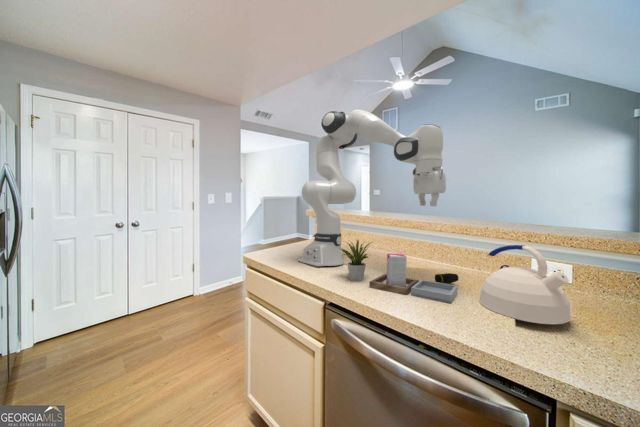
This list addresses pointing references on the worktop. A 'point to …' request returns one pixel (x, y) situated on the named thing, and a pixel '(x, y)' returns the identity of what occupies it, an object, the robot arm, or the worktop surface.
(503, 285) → the kettle
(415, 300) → the worktop surface
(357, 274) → the house plant
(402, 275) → the supplement box
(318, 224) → the robot arm
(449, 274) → the tape measure
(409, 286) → the brown square frame
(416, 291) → the grey tray
